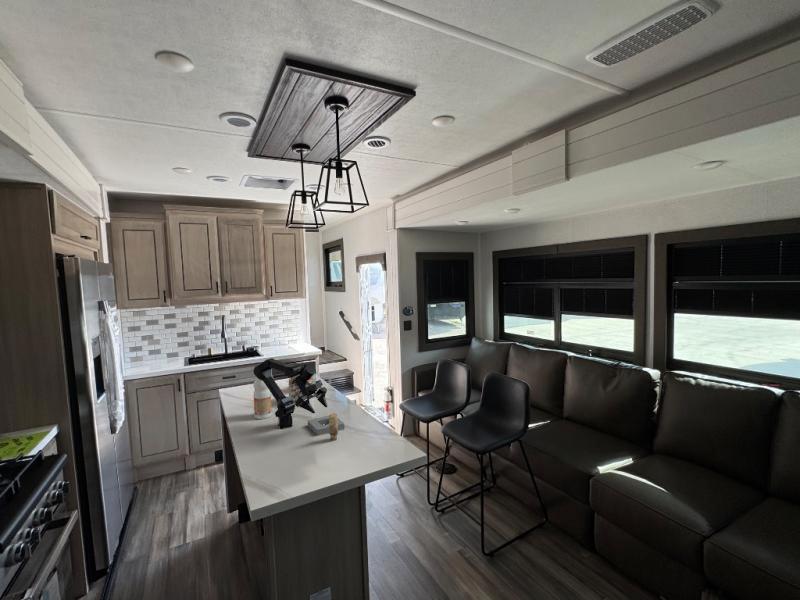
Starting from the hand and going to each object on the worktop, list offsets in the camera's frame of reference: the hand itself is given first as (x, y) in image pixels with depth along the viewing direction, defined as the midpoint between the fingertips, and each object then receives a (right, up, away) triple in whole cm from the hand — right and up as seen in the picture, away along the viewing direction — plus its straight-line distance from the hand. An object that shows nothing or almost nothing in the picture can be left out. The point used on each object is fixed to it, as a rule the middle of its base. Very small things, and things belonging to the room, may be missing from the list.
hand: (320, 410), depth 189 cm
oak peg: (+7, -14, -3) cm, 16 cm away
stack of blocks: (-28, -8, +79) cm, 84 cm away
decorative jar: (-25, -10, +52) cm, 59 cm away
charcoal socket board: (0, -13, +11) cm, 17 cm away
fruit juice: (-39, -12, +28) cm, 50 cm away
